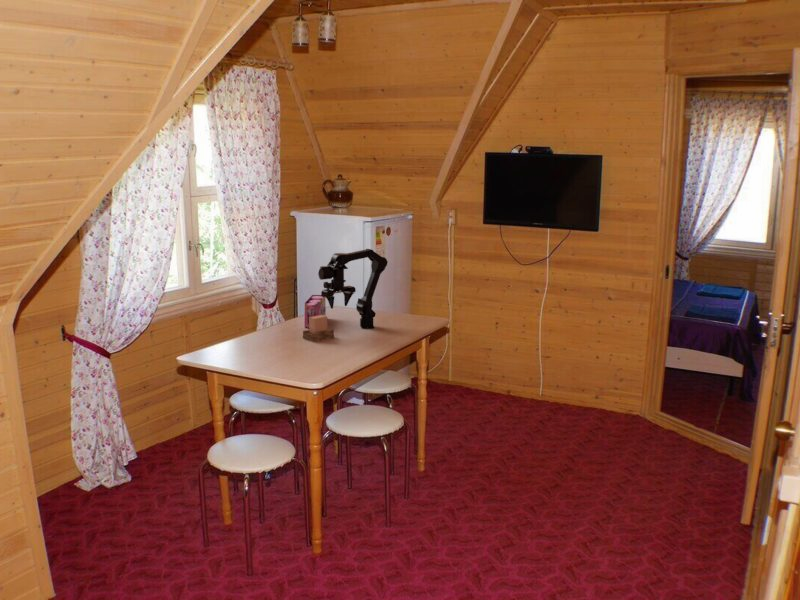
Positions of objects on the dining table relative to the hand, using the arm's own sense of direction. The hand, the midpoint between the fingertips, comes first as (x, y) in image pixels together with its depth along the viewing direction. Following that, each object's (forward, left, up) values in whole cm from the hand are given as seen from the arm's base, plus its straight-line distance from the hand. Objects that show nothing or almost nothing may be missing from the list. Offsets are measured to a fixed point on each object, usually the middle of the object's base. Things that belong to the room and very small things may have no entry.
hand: (338, 307), depth 385 cm
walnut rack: (+12, +11, -13) cm, 21 cm away
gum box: (+10, -21, -13) cm, 27 cm away
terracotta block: (+12, +11, -12) cm, 20 cm away
